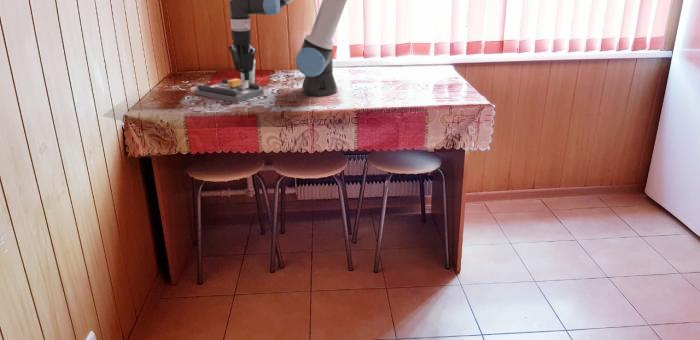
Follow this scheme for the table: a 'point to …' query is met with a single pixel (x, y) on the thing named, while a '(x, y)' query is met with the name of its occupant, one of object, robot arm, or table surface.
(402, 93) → the table surface
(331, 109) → the table surface
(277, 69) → the table surface
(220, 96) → the slide switch panel
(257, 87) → the pair of grey bars
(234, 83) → the lever
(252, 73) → the coffee cup
